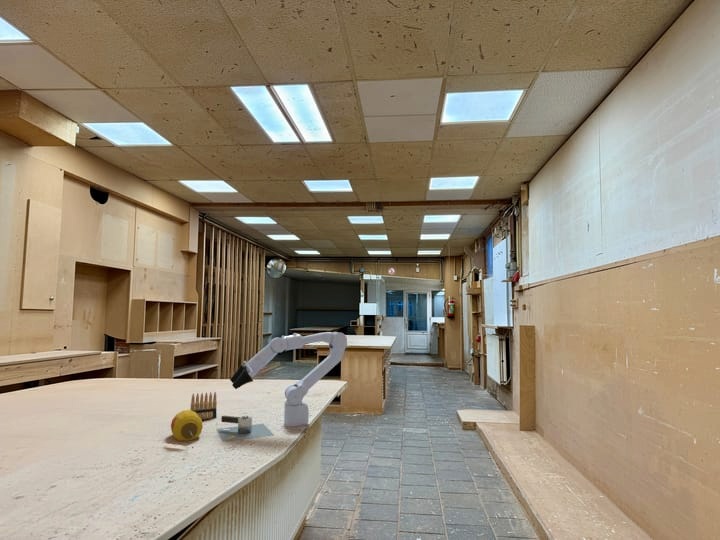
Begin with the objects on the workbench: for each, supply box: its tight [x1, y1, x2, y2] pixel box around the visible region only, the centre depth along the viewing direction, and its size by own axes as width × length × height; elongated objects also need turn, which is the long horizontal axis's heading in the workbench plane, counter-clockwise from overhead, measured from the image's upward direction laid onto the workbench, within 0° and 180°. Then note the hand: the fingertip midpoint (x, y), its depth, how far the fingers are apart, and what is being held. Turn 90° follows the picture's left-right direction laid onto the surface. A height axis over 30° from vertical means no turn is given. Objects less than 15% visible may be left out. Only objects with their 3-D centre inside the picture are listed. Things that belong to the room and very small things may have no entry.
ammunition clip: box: [189, 391, 218, 423], centre depth 172 cm, size 11×2×12 cm, turn 119°
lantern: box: [170, 409, 204, 442], centre depth 146 cm, size 10×10×30 cm
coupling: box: [220, 415, 253, 433], centre depth 153 cm, size 12×5×5 cm, turn 71°
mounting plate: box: [216, 423, 275, 443], centre depth 151 cm, size 18×18×1 cm
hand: (232, 384), depth 159 cm, fingers open, 7 cm apart
